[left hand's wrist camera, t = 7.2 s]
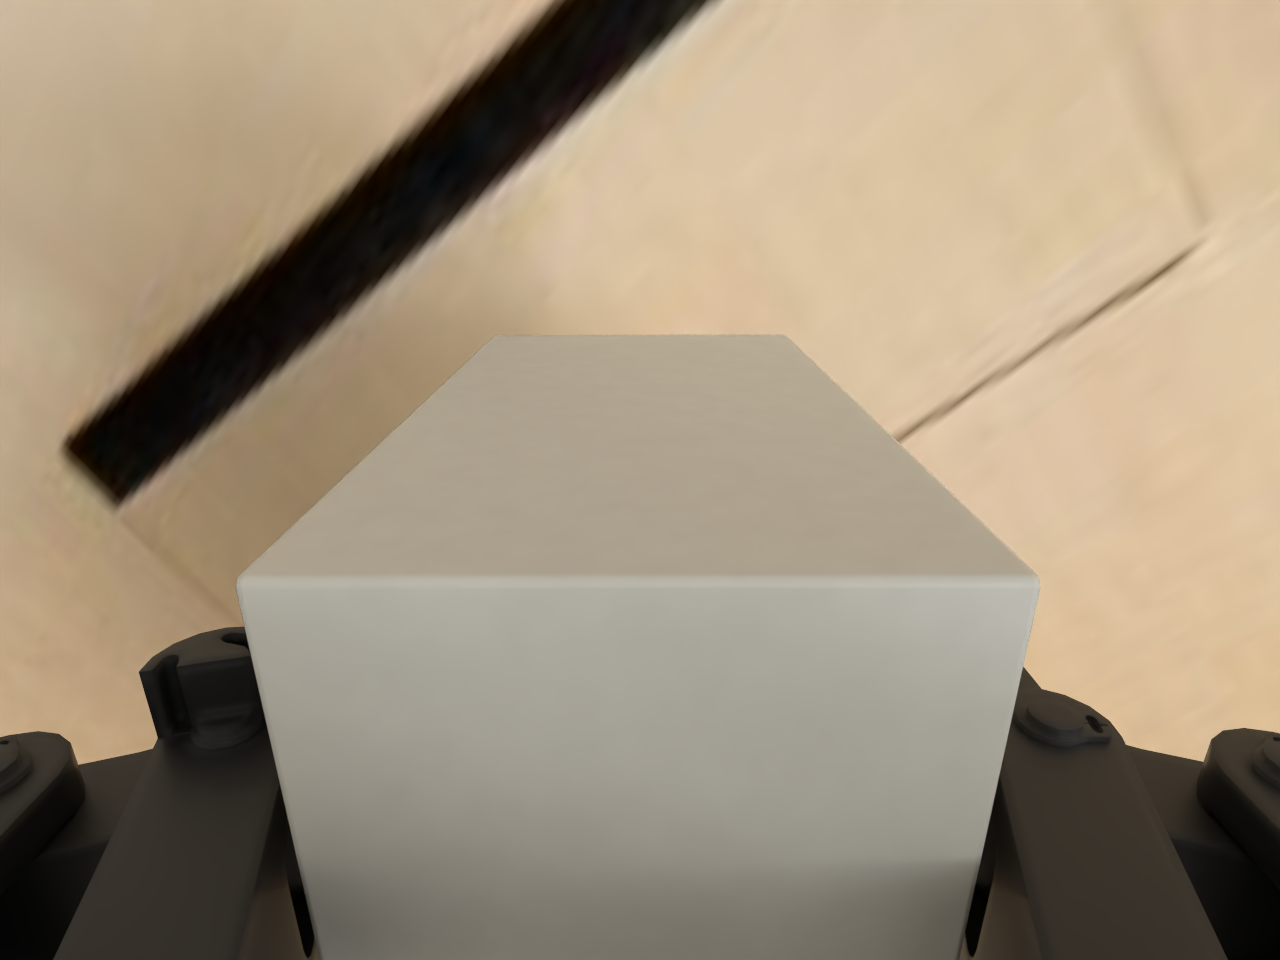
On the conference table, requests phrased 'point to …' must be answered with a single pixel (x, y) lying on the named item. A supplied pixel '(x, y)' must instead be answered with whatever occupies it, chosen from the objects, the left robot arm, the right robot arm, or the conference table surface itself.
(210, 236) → the conference table surface
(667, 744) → the bar
